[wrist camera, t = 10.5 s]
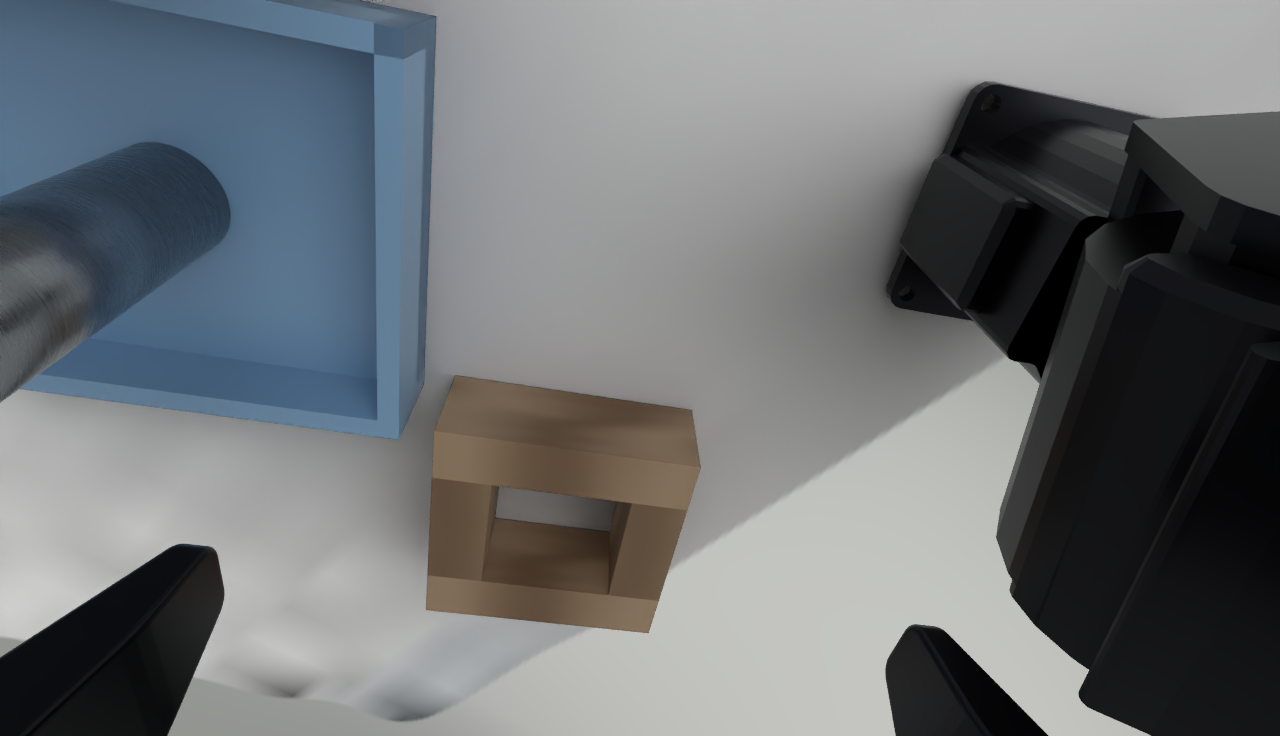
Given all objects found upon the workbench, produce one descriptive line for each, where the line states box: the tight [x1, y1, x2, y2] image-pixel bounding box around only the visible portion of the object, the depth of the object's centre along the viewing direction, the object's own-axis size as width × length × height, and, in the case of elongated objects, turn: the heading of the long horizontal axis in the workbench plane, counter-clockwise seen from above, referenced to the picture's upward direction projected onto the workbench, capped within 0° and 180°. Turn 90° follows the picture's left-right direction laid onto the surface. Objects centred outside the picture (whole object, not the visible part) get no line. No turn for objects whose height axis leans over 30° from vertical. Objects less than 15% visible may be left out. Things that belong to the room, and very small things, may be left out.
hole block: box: [426, 376, 701, 633], centre depth 23 cm, size 8×8×3 cm
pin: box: [0, 142, 231, 402], centre depth 13 cm, size 4×4×11 cm
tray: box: [0, 0, 436, 440], centre depth 17 cm, size 13×11×3 cm
